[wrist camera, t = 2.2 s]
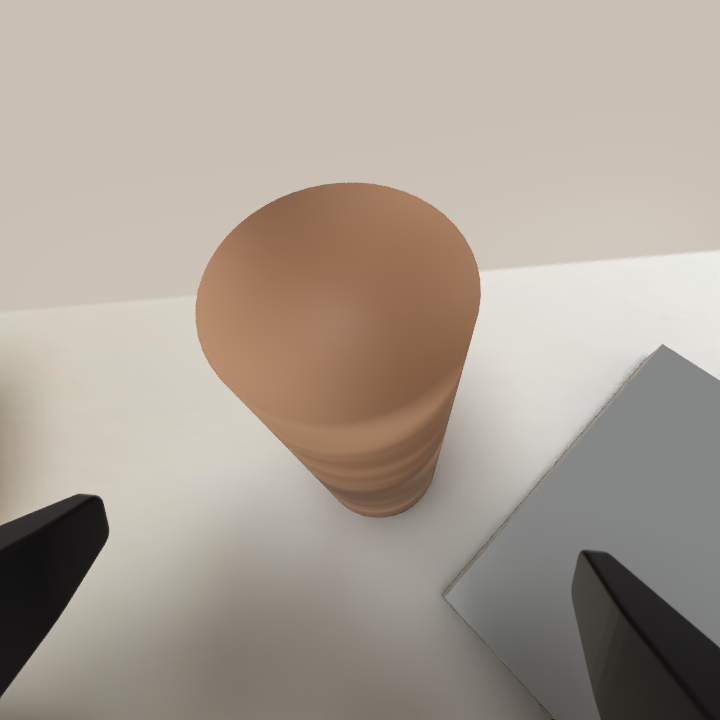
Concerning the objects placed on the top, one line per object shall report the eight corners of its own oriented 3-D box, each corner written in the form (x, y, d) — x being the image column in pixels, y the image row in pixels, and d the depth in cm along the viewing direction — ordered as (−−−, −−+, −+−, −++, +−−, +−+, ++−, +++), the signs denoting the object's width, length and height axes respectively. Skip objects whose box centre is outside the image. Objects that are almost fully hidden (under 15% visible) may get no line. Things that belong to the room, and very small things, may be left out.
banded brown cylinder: (377, 544, 18) (322, 493, 6) (300, 457, 20) (144, 293, 8) (458, 458, 19) (542, 277, 7) (378, 384, 21) (342, 147, 9)
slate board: (695, 873, 13) (729, 908, 12) (441, 595, 17) (444, 597, 15) (894, 524, 16) (938, 520, 15) (645, 359, 20) (662, 344, 19)
